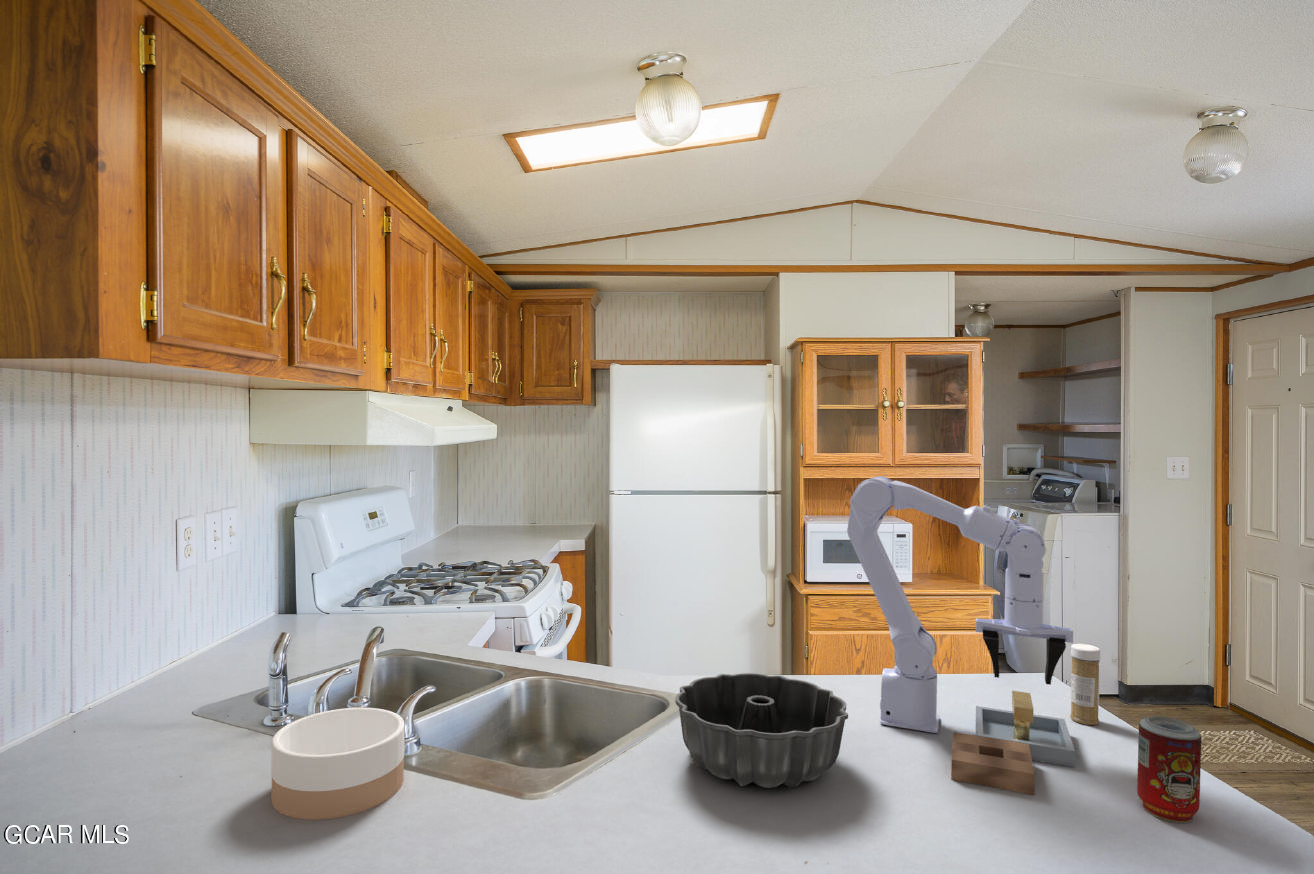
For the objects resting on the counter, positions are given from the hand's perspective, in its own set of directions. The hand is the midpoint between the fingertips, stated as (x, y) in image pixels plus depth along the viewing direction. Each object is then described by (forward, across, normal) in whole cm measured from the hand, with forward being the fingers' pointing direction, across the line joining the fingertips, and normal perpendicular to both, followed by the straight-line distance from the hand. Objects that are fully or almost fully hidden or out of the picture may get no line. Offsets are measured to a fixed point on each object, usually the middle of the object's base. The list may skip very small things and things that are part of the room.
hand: (1021, 679), depth 124 cm
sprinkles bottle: (+11, +11, +15) cm, 21 cm away
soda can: (+11, +17, -17) cm, 27 cm away
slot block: (+10, -5, -14) cm, 18 cm away
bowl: (+11, -90, -60) cm, 108 cm away
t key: (+10, 0, 0) cm, 10 cm away
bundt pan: (+11, -38, -27) cm, 47 cm away
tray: (+10, 0, 0) cm, 10 cm away
